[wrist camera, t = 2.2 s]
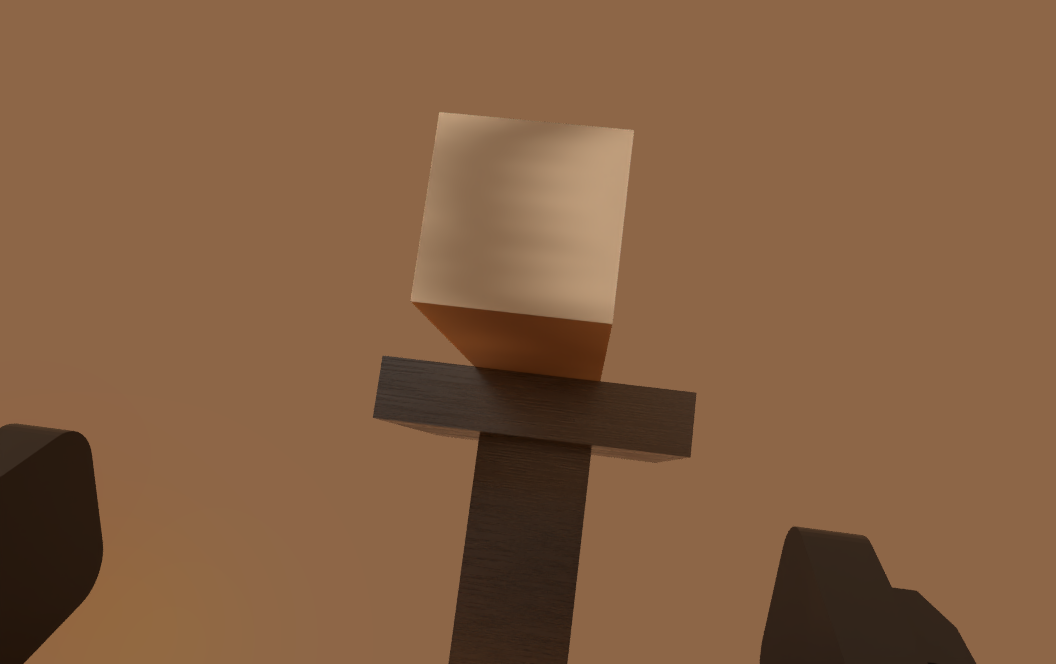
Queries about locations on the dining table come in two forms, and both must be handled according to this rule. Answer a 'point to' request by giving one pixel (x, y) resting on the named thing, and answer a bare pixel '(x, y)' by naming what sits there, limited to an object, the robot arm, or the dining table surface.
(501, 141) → the tan wooden block
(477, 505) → the pedestal
